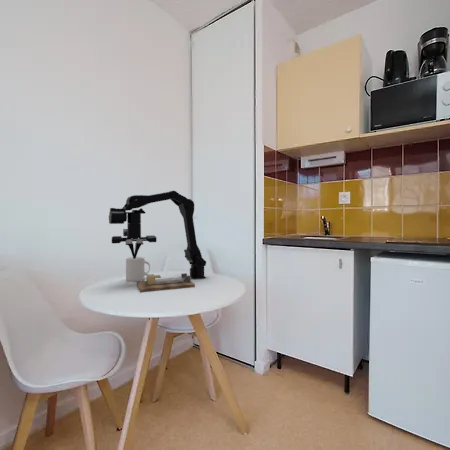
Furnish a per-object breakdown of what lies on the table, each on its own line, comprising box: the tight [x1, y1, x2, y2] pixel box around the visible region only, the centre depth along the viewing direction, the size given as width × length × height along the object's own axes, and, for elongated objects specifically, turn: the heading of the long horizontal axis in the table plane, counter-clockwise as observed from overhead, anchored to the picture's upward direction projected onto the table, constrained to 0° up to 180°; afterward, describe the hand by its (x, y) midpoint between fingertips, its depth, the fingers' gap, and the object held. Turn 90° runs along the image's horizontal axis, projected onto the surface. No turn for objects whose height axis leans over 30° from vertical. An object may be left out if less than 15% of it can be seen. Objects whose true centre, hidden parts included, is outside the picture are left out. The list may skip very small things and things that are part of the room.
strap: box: [155, 276, 185, 284], centre depth 125 cm, size 14×4×1 cm, turn 113°
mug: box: [125, 256, 151, 282], centre depth 137 cm, size 9×12×11 cm
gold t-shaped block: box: [146, 273, 162, 285], centre depth 122 cm, size 6×5×3 cm
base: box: [136, 272, 196, 293], centre depth 124 cm, size 23×15×4 cm, turn 113°
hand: (134, 258), depth 125 cm, fingers closed
